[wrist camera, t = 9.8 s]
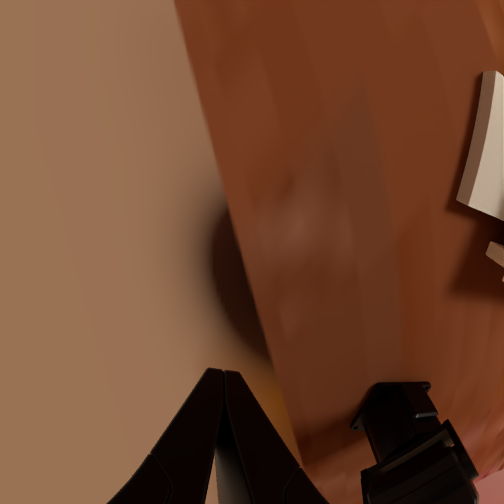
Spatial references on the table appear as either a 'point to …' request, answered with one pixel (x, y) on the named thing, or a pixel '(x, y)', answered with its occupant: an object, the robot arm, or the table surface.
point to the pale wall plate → (486, 151)
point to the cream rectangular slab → (496, 253)
